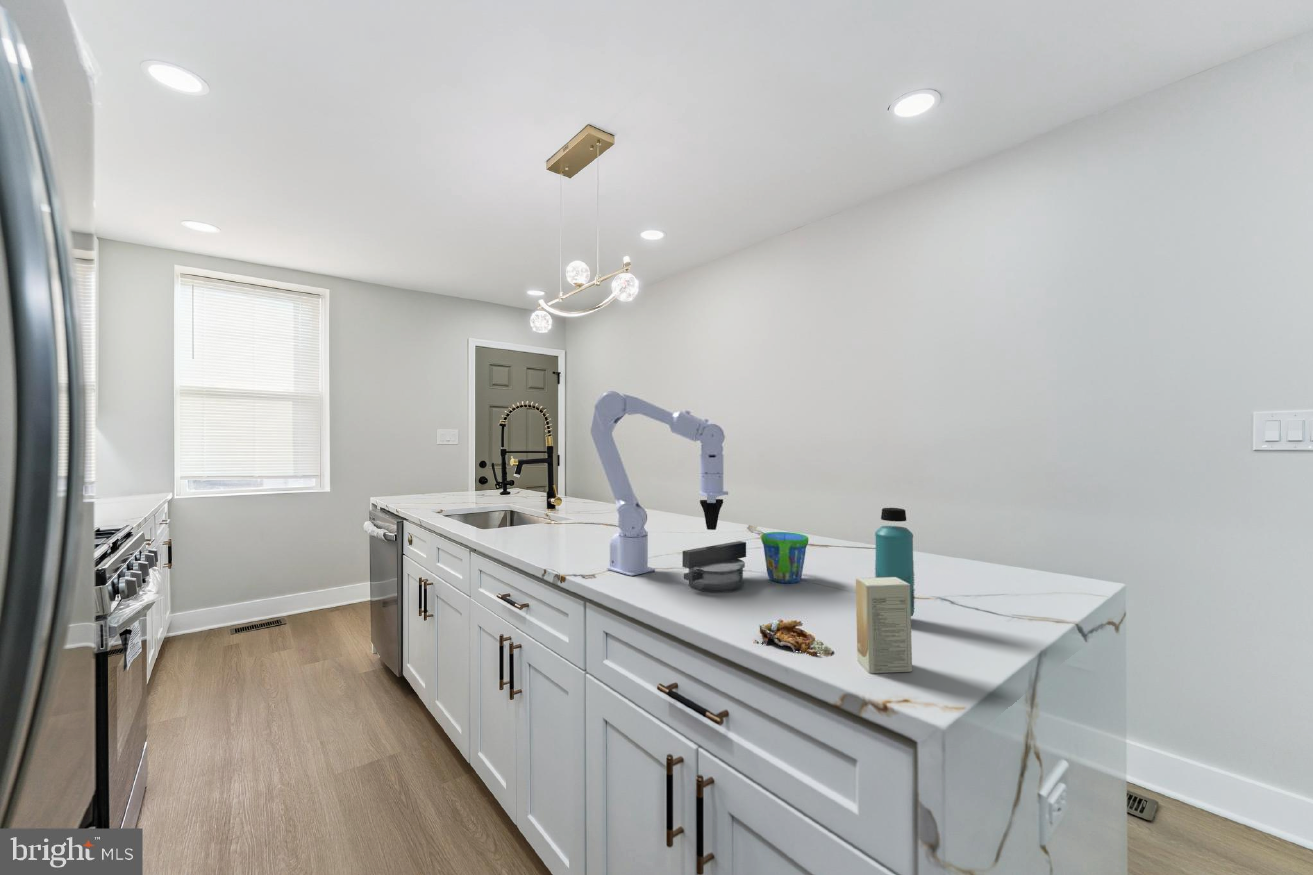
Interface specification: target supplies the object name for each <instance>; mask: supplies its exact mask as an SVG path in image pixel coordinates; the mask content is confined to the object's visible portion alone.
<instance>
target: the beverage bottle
mask: <svg viewBox="0 0 1313 875" xmlns="http://www.w3.org/2000/svg"><path fill="white" fill-rule="evenodd" d="M880 515H881V516H880V520H882V521H886V522H906V521H907V514H906V509H904V508H900V507H884V508H882V509H881V514H880ZM874 537H875V561H874V575H875V578H879V577H897V578H899V579H901V580H902V581H904V582H906V583H908V584H910V604H911V617H913V616H914V613H915V608H916V606H915V605H916V602H915V601H916V600H915V599H916V594H915V592H916V588H915V587H914V586H915V581H916V579H915V575H916V574H915V571H914V570H915V562H914V534H913V533H912V531H910V530H909V529H908V528H907V527H905V526H899V525H883V526H880V527H879V528H878V529H877V530H875V532H874Z"/></svg>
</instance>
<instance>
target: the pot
mask: <svg viewBox="0 0 1313 875" xmlns="http://www.w3.org/2000/svg"><path fill="white" fill-rule="evenodd" d="M745 563H746V562H745V561H744V568H745V567H746V566H745V565H746V564H745ZM744 568H743V569H741V570H738V571H733V572H705V571H699V570H694V569H691V568H690V569H688V572H684V573H683V580H685V581H688V587H690V588H692V589H693V590H696V591H700V592H706V593H730V592H732V593H733V592H737V591H739V590H741V589H743V588H744Z"/></svg>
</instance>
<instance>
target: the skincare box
mask: <svg viewBox="0 0 1313 875" xmlns="http://www.w3.org/2000/svg"><path fill="white" fill-rule="evenodd" d="M855 591H856V592H855V604H856V606H855V608H856V650H857V652H856V654H857V656H856V657H857V662H858V663H859V664H860V665H861V666H862V667H863V668H864V670H866V672H868V673H869V674H880V673H884V674H885V673H886V674H887V673H888V674H889V673H906V672H908V673H909V672H913V652H912V650H913V648H912V616H911V604H910V584H908V583H906V582H904V581H902V580H901V579H899V578H897V577H879V578H876V577H856V578H855Z"/></svg>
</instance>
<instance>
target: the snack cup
mask: <svg viewBox="0 0 1313 875" xmlns="http://www.w3.org/2000/svg"><path fill="white" fill-rule="evenodd" d="M760 536H761V538H760V539H761V540H760V541H761V544H762V545H763V552H764V559H765V567H766V568H765V569H766V572H767V577H768V579H769V580H770V581H774V582H777V583H779V584H781V583H782V584H792V583H793V584H795V583H797V582H800V581H801V580H802V577H803V570H804V565H805V559H806V553H807V552H806V551H807V546H808V544H809V536H808V535H806V534H803V533H798V532H790V531H789V532H788V531H770V532H765V533H762V534H761V535H760Z"/></svg>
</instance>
